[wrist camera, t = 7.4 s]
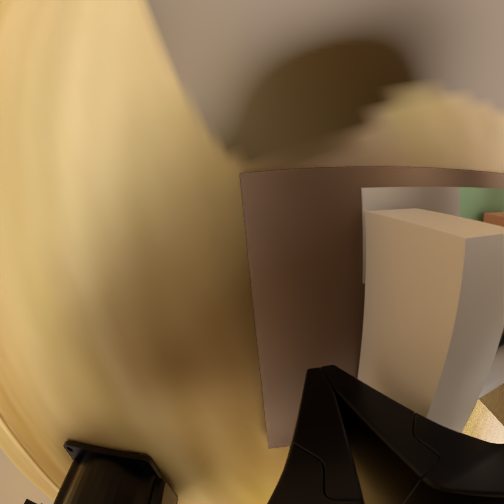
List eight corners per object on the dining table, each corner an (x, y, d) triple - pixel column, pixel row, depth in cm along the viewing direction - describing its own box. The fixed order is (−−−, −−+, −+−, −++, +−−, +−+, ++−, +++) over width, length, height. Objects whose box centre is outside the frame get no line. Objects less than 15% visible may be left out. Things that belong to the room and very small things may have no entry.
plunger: (348, 430, 10) (379, 506, 6) (364, 211, 8) (465, 238, 4) (486, 377, 11) (529, 419, 6) (519, 205, 8) (590, 221, 4)
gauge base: (266, 434, 12) (268, 450, 11) (239, 174, 9) (239, 173, 8) (506, 357, 12) (514, 364, 11) (532, 178, 10) (545, 179, 8)
